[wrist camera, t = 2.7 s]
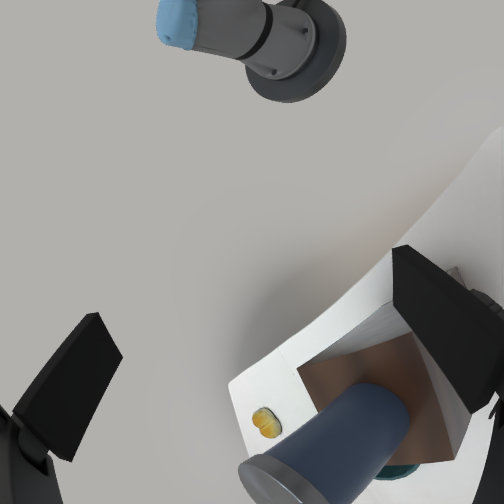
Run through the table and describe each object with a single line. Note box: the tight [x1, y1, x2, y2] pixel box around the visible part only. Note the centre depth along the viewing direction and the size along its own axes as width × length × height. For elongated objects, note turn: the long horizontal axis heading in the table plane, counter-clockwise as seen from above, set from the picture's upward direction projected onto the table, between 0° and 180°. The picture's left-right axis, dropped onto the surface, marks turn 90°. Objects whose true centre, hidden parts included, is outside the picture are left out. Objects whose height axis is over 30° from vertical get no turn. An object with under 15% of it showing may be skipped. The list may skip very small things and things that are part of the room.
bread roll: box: [252, 408, 281, 438], centre depth 60 cm, size 8×9×4 cm
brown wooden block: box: [297, 267, 472, 465], centre depth 23 cm, size 12×12×18 cm
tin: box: [238, 383, 410, 504], centre depth 14 cm, size 7×7×10 cm
